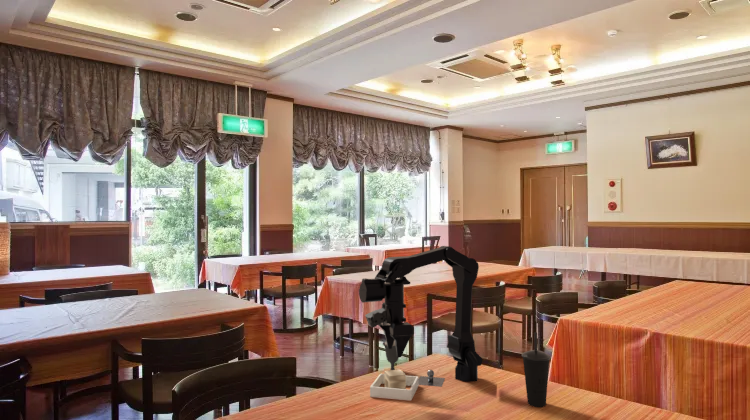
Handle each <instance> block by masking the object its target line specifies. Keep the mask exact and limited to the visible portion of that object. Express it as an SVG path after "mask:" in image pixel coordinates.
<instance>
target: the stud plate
mask: <svg viewBox="0 0 750 420" xmlns="http://www.w3.org/2000/svg"><path fill="white" fill-rule="evenodd" d="M426 375H427V376H424V375H420V376H418V383H419V386H429V387H430V386H431V387H440V388H441V387H443V384H444V382H445V379H446V378H445V377H440V376H439V377H438V376H437V377H436V376H435V372H434V370H432V369H429V370H427V372H426ZM434 376H435V377H434Z"/></svg>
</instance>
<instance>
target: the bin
mask: <svg viewBox="0 0 750 420" xmlns="http://www.w3.org/2000/svg"><path fill="white" fill-rule="evenodd" d="M418 379H419V376H418V375H415V376H414V375H406V387H407V386H408V387H410V389H408V388H406V389H397V388H385V386H384V387H383V386H381V384H382V385H383V384H384V385H385V382H384V373H379V375H378V376H377V377H376V379H375V380H374V381H373V382H372V383H371V384H370V386H369V398H379V399H389V400H390V399H392V400H400V401H412V400H413V398H414V396H415V394H416V392H417V390H418V389H419V386H420V385H419V383H418Z"/></svg>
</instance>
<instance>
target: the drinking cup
mask: <svg viewBox="0 0 750 420" xmlns="http://www.w3.org/2000/svg"><path fill="white" fill-rule="evenodd" d="M533 334H534V349H533V350H532V349H531V350H527V351H525V352H522V353H521V358H522V361H523V371H524V380H525V389H526V390H525V391H526V401H527V404H528V405H529V406H531V407H533V406H534V407H533V408H544V407H546V406H545V405H547V395H548V384H549V383H548V381H549V380H548V379H549V371H550V370H549V367H550V366H549V365H550V360H551V355H550V354H549V353H546V352H545V351H542V350H540V349H539V350H538V333H537V332H536V331H535V332H533ZM543 406H544V407H543Z"/></svg>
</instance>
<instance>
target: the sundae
mask: <svg viewBox="0 0 750 420" xmlns="http://www.w3.org/2000/svg"><path fill="white" fill-rule="evenodd" d="M382 345H383V347H384V350H385V356H386V360H387V362H389V363H390V370H396V368H395V364H396V363H397V361H398V360H399V358H400V357H397V352H396V346H395V340H394V343H393V346H392V349H388V346H387V342H386V341H384V342H382Z"/></svg>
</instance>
